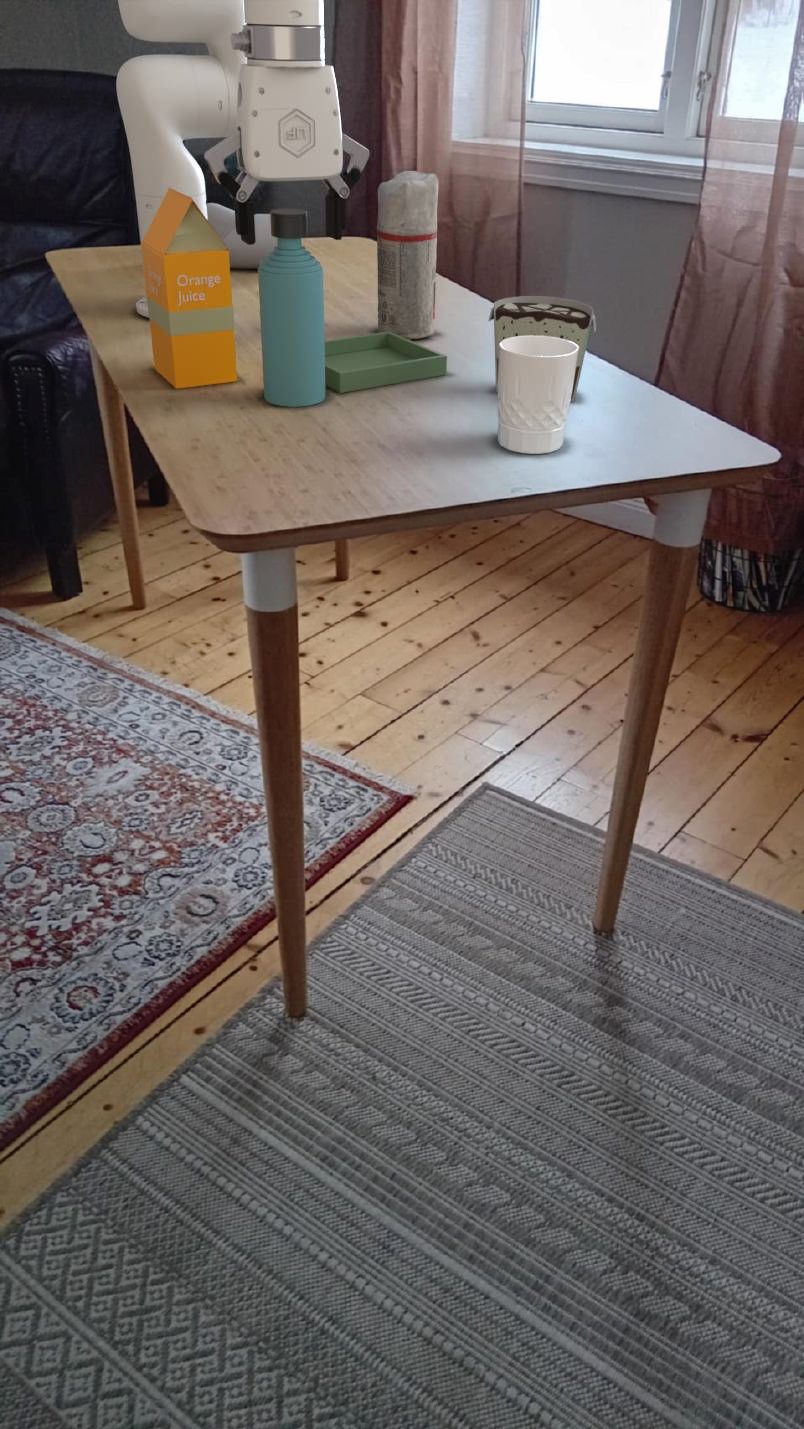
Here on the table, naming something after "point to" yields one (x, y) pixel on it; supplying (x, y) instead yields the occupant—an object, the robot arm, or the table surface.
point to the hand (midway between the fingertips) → (291, 240)
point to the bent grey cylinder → (239, 250)
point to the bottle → (292, 325)
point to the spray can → (407, 254)
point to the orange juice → (188, 296)
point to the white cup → (534, 392)
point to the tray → (378, 361)
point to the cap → (288, 223)
